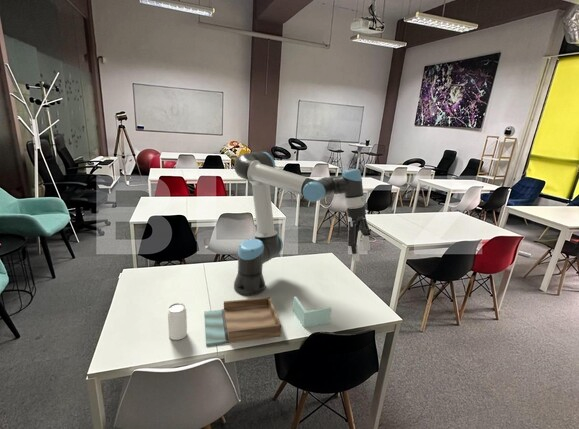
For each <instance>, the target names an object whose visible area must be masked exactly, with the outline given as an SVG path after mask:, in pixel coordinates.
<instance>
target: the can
mask: <svg viewBox="0 0 579 429" xmlns="http://www.w3.org/2000/svg"><path fill="white" fill-rule="evenodd" d="M187 319H188V316H187V308H186V306H185V304H184V303H181V302H180V303H179V302H177V303H173V304H171V305H170V306H169V307H168V311H167V324H168V326H167V327H168V337H169V339H171V340H173V341H180V339H181V340H182V339H185V337H186V336H187V334H188V326H187V325H188V324H187V323H188V322H187Z"/></svg>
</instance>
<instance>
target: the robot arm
mask: <svg viewBox="0 0 579 429" xmlns="http://www.w3.org/2000/svg"><path fill="white" fill-rule="evenodd" d="M233 166H234V167H233V169H234V171H235V174H236V175H237V176H238V177H239V178H241V179H243V180H246V181H248V182H249V183H250V184H251V186H252V188H251V190H252V197H253V205H254V206H253V208H254V214H255V215H254V216H255V222H256V232H255V233H254V238H251V239H246V240H244V241H241V242H240V243H239V246H238V251H237V255H238V257H237V258H238V259H237V261H238V262H237V274H236V277H235V279H234V282H233V289H234V291H235V292H236V293H238V294H240V295H243V296H255V295H259V294H262V293H263V292H264V290H266V289H265V288H266V281H265V278H264V276H263V265H264V264H265V263H267V262H269V261H271V260H272V259H275V258H276V257H278V256H279V255H280V254H281V252H282V251H283V246H284V243H283V239H282V237H281V236H280V235H279V234H278V231H277V230H275V225H274V216H273V206H272V195H271V187H270V186H272V187H275V188H277V189H281V190H284V191H288V192H291V193H294V194H297V195H301V196H302V197H304V199H306V201H308V202H318V201H320V200H323V199H325V198H327V197H330V196H332V195H333V196H334V195H342V194H344V196H345V197H344V198H345V207H346V211H347V212H346V213H347V217H348V218H351V221H348V241H347V242H348V243H347V246H348V247H350V250H351V258H352V261H353V262H360V251H359V246H358V239H359V238H358V237H359V232H361V234H362V236H361V239H362V245H363V246H362V247H363V251H370V250H371V247H370V246H371V245H370V236H371V230H370V227H369V224H368V221H367V217H366V214H367V210H366V206H365V200H366V198H365V197H364V196H365V195H364V187H363V186H364V185H363V178H362V173H361V170H360V169H358V168H353V169H346V170H343V171H342V172H341V175H337V176H329V177H325V176H324V177H320V178H318V179H313V178H309V177H307V176H304V175H301V174H297V173H294V172H290V171H288V170H287V171H286V170H283V169H280V168H276V162H275V159H274V157H273V156H272V155H271V153H269V152H267V151H256V152H243V153H241V154H239V155H238V156H237V158H236V159H235V160H234V165H233Z"/></svg>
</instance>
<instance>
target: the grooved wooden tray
mask: <svg viewBox="0 0 579 429" xmlns="http://www.w3.org/2000/svg"><path fill="white" fill-rule="evenodd" d="M204 329H205V330H204V332H205V345H206V346H205V347H208V346H217V345H223V344H224V345H225V344H231V343H233V344H234V343H240V342H247V341H256V340H262V339H263V340H265V339H271V338H278V337H279V338H280V337H281V335H282V324H281V321H280V318H279V315H278V314H277V311H276V308H275V306H274V304H273V301H272V298H271V297H269V296H268V297H257V298H247V299H246V298H245V299H236V300H226V301H225V300H224V301H223V308H222V309H216V310H206V311H204Z"/></svg>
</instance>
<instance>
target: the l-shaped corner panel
mask: <svg viewBox="0 0 579 429" xmlns="http://www.w3.org/2000/svg"><path fill="white" fill-rule="evenodd" d="M292 312H293V314H294V313H295V314H294V315H295V317H296V318H297V319H298V321H300V322H299V324H302V325H301V326H302V327H304V328H308V326H309V327H313V325H315V326H319V325H318V324H320V325H324V324H323V323H326V324H329V323H330V320H331V314H332V308H331V307H325V308H320V309H310V310H309V309H308V310H306V309H305V307H304V306H303V305H302V303H301V301H300V300H299V299H298V297H297V296H294V297H293V303H292ZM328 322H329V323H328Z"/></svg>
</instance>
